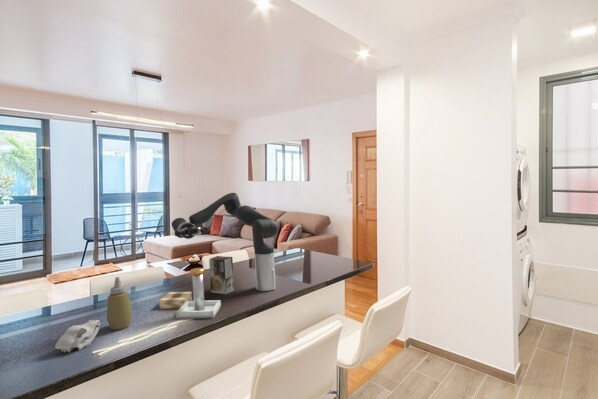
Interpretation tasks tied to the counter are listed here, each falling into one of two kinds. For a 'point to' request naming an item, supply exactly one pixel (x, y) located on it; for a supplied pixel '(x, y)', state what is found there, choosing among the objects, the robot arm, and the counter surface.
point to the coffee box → (221, 274)
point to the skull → (78, 336)
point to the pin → (198, 288)
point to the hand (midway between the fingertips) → (194, 232)
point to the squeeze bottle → (118, 307)
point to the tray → (189, 312)
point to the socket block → (175, 299)
